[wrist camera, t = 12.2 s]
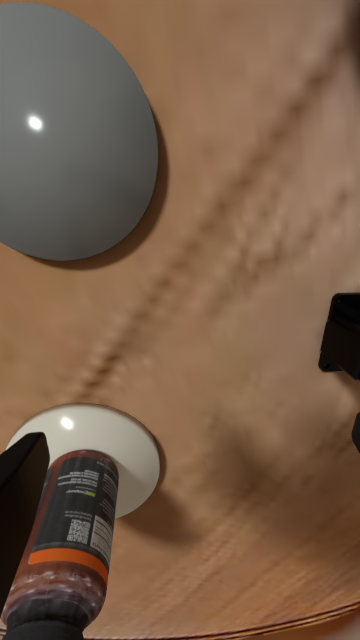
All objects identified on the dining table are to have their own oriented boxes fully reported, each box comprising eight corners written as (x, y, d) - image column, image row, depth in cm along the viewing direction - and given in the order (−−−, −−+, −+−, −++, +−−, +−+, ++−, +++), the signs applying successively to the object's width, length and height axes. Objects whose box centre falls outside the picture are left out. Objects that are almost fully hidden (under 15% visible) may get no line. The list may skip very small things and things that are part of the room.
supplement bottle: (56, 501, 25) (-14, 714, 14) (40, 450, 23) (-56, 657, 12) (124, 492, 25) (105, 693, 15) (115, 441, 23) (84, 635, 12)
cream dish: (157, 398, 23) (157, 406, 22) (160, 507, 28) (161, 517, 27) (-9, 407, 22) (-16, 416, 21) (24, 519, 27) (19, 530, 26)
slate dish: (154, 23, 15) (154, 10, 14) (160, 257, 19) (160, 259, 18) (-94, 8, 14) (-113, -7, 13) (-28, 259, 18) (-38, 261, 17)
